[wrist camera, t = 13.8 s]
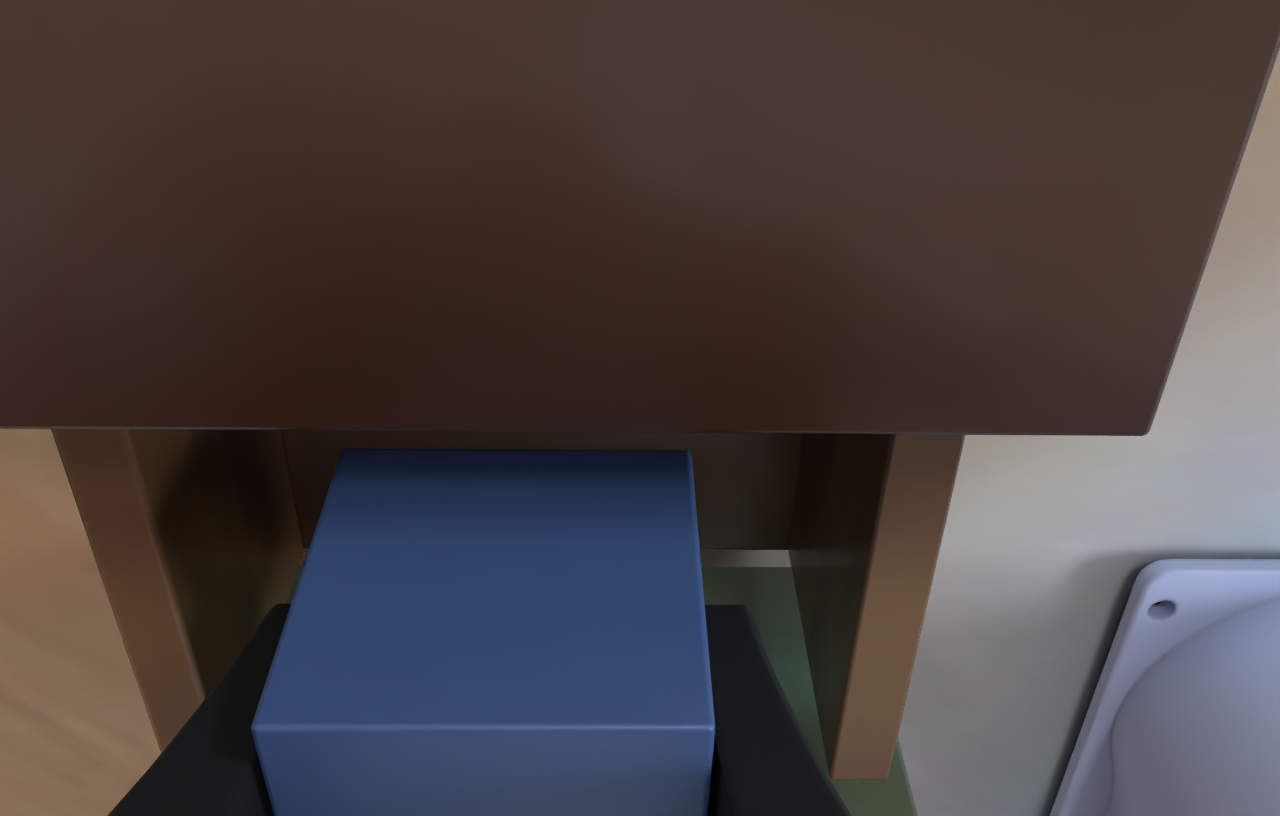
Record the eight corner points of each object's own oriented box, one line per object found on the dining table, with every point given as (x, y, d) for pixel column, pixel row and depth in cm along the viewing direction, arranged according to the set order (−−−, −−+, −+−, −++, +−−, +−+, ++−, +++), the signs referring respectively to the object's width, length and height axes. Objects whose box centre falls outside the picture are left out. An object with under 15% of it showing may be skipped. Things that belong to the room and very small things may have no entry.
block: (678, 685, 15) (694, 977, 12) (379, 684, 15) (314, 978, 12) (691, 448, 13) (716, 729, 10) (340, 446, 13) (247, 728, 10)
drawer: (823, 762, 24) (874, 1051, 19) (293, 762, 24) (210, 1055, 19) (974, -115, 14) (1154, 27, 9) (79, -131, 14) (-203, 8, 9)
